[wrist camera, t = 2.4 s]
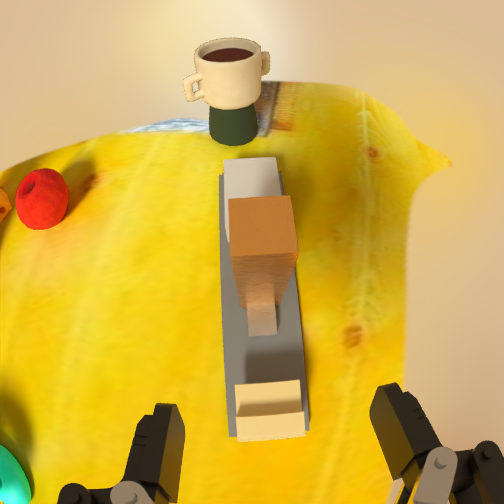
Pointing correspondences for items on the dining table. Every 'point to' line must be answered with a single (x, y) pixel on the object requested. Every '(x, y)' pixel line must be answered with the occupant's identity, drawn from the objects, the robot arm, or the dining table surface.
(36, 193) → the apple
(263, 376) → the board
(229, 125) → the mug on green stand
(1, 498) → the donuts
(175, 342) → the dining table surface
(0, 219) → the pipe clamp
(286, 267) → the orange-brown upright block
